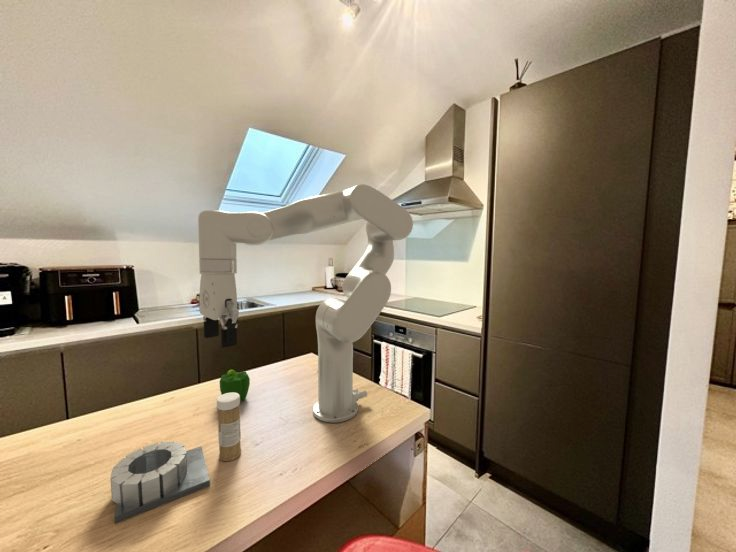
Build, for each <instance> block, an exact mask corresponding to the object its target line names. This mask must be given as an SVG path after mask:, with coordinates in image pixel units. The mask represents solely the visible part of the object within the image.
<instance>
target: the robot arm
mask: <svg viewBox="0 0 736 552" xmlns="http://www.w3.org/2000/svg"><path fill="white" fill-rule="evenodd" d="M360 220H364V221H366V223H365V231H366V236H367V248H366V249H365V252H364V253H363V255H362V256H361V257H360V259H359V260H358V261H357V262H356V264H355V265H354V266H353V268H352V269H351V270H350V271H349V273H348V274H347V275H346V277H345V278H344V279H343V282H342V285H341V286H342V292H343V294H344V295H345V297H347V299H346V300H343V299H341V298H337V297H336V298H335V297H334V298H333V297H332V298H327V299H325V300H324V301H322V302H321V303H320V304H319V306H318V307H317V309H316V312H315V313H316V314H315V329H316V335H317V337H316V338H317V352H318V353H317V363H318V365H317V366H318V369H317V371H318V372H317V373H318V374H317V378H318V380H317V383H318V384H317V386H318V390H317V391H318V401H316V402H315V403H314V404H313V406H312V415H313V416H314V417H315V418H317V419H318V420H320V421H322V422H325V423H332V424H333V423H342V422H346V421H348V420H349V421H350V419H353V418H354V417H355V416H356V415H357V414H358V412H359V404H358V401H359V400H361V399H364V398H366V397H368V391H366V390H365V389H363V390H360V391H359V389H358V388H356V389H354V388H353V387H354V386H353V385H354V384H353V379H354V377H353V376H354V375H353V374H354V372H353V371H354V370H353V369H354V368H353V367H354V366H353V364H354V362H353V361H354V360H353V359H354V347H353V345H354V342H356V341H358V340H360V339H361V338H362V337H363V336H364V335H366V333H367V332H368V330H369V329H370V328H371V326H372V324H373V323H374V322H375V321H376V319H377V318H378V316H380V313H381V312H382V311H383V310H384V308H385V307H386V305H387V303H388V302H389V301H390V300H389V299H390V297H391V293H392V284H391V281H390V278H389V277H388V276H387V273H388V272H389V270H390V268H392V265H393V262H394V260H395V259H394V258H395V249H394V248H395V247H394V241H400V240H404V239H406V238H407V237H408V236H410V235H411V232H412V231H413V228H414V227H413V226H414V223H413V222H414V221H413V218H412V215H411V214H410V212H409V211H408V210H407V209H406V208H405V207H404V206H402V205H400V204H399V203H397V202H396V201H394V200H393V199H391V198H390V197H389V196H387V195H385V194H384V193H383V192H381V191H380V190H378V189H376V188H374V187H372V186H370V185H368V184H361V183H360V184H356V185H354V186H352V187H349V188H347V189H343V190H338V191H334V192H330V193H325V194H320V195H315V196H309V197H307V198H304V199H300V200H297V201H295V202H293V203H291V204H288V205H285V206H283V207H279V208H275V209H271V210H268V211H263V212H258V211H246V212H245V211H244V212H241V211H240V212H229V211H225V210H214V209H213V210H212V209H211V210H210V209H209V210H202V211H200V212H199V214H198V219H197V223H198V224H197V225H198V257H199V258H198V263H199V275H200V283H199V285H200V286H199V301H198V303H199V308H198V310H199V311H198V312H199V314H200V315H201V316H203V317H202V318H203V338H205V339H209V338H215V337H218V336H219V335H220V347H221V348H222V349H223V348H230V347H234V346H237V344H238V343H237V342H238V335H237V334H238V332H237V331H238V329H237V328H238V322H239V314H240V312H239V311H240V310H239V309H238V293H237V282H236V275H235V274H237V273H238V272H237V271H238V270H237V269H238V268H237V267H238V266H237V265H238V264H237V263H238V261H237V243H239V244H244V245H247V246H260V245H264V244H266V243H267V242H270V241H273V240H279V239H281V238H286V237H289V236H295V235H306V234H310V233H314V232H319V231H322V230H326V229H329V228H332V227H337V226H341V225H343V224H348V223H351V222H354V221H360ZM219 322H220V323H219ZM220 324H221V328H220V327H219V326H220ZM219 330H220V331H219Z"/></svg>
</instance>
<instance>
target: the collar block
mask: <svg viewBox="0 0 736 552" xmlns="http://www.w3.org/2000/svg"><path fill="white" fill-rule="evenodd" d="M142 448H143V449H142ZM142 448H138V449H136V450H134V451H133V452H131V453H129V454H127V455H125V457H123V458H121V459H120V460H119V461H118V462H117V463H116V464H115V465H114V466H113V468H112V469H111V473H110V488H111V489H110V492H111V499H112V502H113V503H114V504H115V509H114V510H115V511H114V517H113V518H114V524H118V523H120V522H123V521H126V520H128V519H130V518H133V517H135V515H136V516H138V515H141V514H142V513H145V512H147V511H150V510H154V509H155V508H158V507H161V506H163V505H165V504H168V503H170V502H174V501H175V500H178V499H180V498H183V497H186V496H188V495H191V494H193V493H195V492H198V491H200V490H203V489H206V488H208V487H210V486H211V480H210V476H209V471H208V467H207V464H206V459H205V455H204V452H203V447H202V446H198V447H195V448H192V449H188V450H187V449H186V445H184V444H182V443H180V442H178V441H160V442H155V443H153V444H149V445H145V446H143V447H142ZM140 513H141V514H140Z"/></svg>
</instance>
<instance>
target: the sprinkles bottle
mask: <svg viewBox="0 0 736 552" xmlns="http://www.w3.org/2000/svg"><path fill="white" fill-rule="evenodd" d="M240 404H241V401H240V395H239V394H238V393H234V392H231V393H225V394H223V395H219V396H218V397H217V399H216V408H217V418H218V419H217V421H218V423H217V424H218V426H217V427H218V430H217V431H218V435H217V436H218V447H219V448H218V449H219V454H218V458H219V459H220V461H222V462H230V461H234V460H236V459H237V458H238V457H240V455H241V453H242V448H241V416H240V412H241V411H240Z"/></svg>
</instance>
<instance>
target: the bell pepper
mask: <svg viewBox="0 0 736 552" xmlns="http://www.w3.org/2000/svg"><path fill="white" fill-rule="evenodd" d="M250 380H251V379H250V376H249V375H248V373H247V371H240V372H238V371H235V370H234V369H229V370H228V371H227V372H226V374H221V377H220V379H219V391H220V394H221V395H223V394H225V393H231V392H234V393H238V394H239V395H240V402H242V401H245V400H246V398H247V395H248V392H249V390H250V389H249V388H250V384H251V383H250V382H251V381H250ZM221 395H220V396H221Z"/></svg>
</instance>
